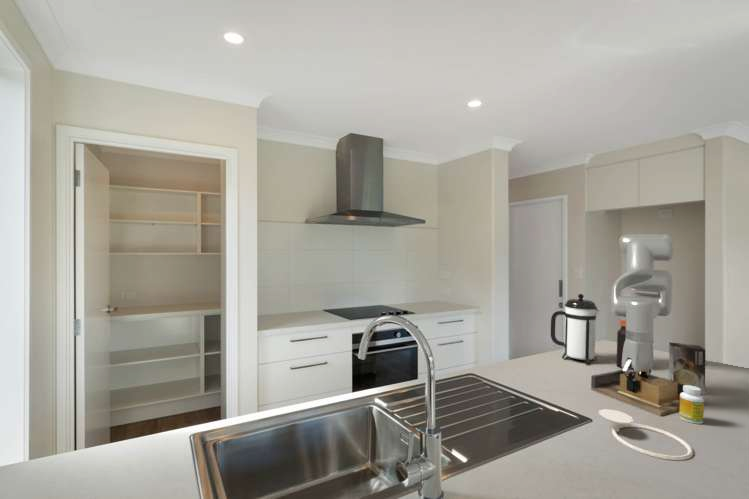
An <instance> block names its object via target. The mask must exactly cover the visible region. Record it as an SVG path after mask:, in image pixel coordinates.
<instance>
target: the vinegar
mask: <svg viewBox="0 0 749 499" xmlns="http://www.w3.org/2000/svg"><path fill="white" fill-rule="evenodd" d="M619 321H620V322H619V326H620V329H618V330H617V333H616V334H617V335H616V337H617V338H616V367H618V368H619V369H621V370H623V368H622V354H623V347H624V342H625V340H626V320H624V319H620V320H619ZM631 369H632V368H631Z"/></svg>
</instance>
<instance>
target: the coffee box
mask: <svg viewBox="0 0 749 499" xmlns="http://www.w3.org/2000/svg"><path fill="white" fill-rule="evenodd" d="M668 344H669V347H668V348H669V349H668V350H669V354H668V355H669V356H668V357H669V358H668V360H669V361H668V379H669V380H673V381H676V382H678V383H681V384H684V385H691V386H695V387H698V388H700V389H701V394H700V395H703V396H705V395H706V349H705V348H704V347H702V346H701V345H697V344H687V343H678V342H669V343H668Z"/></svg>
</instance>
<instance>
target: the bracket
mask: <svg viewBox="0 0 749 499" xmlns="http://www.w3.org/2000/svg"><path fill="white" fill-rule="evenodd" d="M632 375H634V374H632ZM636 381H638V392H637V393H633V392H631V391H628V390H627V379H626V376H625V374H620V392H622V393H625V394H628V395H631V396H633V397H636V398H639V399H642V400H645V401H647V402H650V403H653V404H656V405H662V404H666V403H669V402H673V401H677V396H678V382H676V381H673V380H669V378H666V377H661V378H658V379H653V380H651V379H647V378H644V377H641V376H638V375H637V380H636Z"/></svg>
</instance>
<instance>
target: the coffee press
mask: <svg viewBox="0 0 749 499" xmlns="http://www.w3.org/2000/svg"><path fill="white" fill-rule="evenodd" d="M584 298H585V297H584V294H583V293H579V294H578V295H577V298H570V299H568V300H566V301H565V303H564V309H565V311H563V310H559V311H555V312H554V313H552V315H551V319H550V337H551V340H552V342H553V343H554V344H555V345H558V346H561V347H563V348H564V353H563V354H562V356H561V359H563V360H565V361H567V360H568V359H569V358H571V359H574V360H575V359H576V360H581V361H584V364H585V365H589V366H590V364H591V360H592V361H597V357H596V354H595V353H596V326H597V325H596V322H597V321H596V320H597V315H600V314H601V312H600V310H599V309H598V306H597V305H596V303H595V302H594V301H592V300H589V299H584ZM558 316H564V319H565V321H564V342H563V341H560V340H558V339H557V338H556V318H557V317H558Z"/></svg>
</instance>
